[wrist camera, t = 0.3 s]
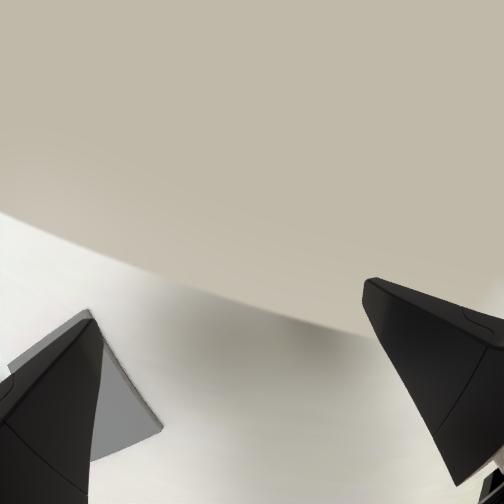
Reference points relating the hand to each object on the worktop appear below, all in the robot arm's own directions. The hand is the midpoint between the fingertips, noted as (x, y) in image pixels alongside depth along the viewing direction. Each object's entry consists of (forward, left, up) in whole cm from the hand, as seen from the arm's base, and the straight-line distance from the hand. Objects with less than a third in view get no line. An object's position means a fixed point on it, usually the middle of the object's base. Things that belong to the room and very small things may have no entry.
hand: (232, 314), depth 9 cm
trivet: (0, +17, -15) cm, 22 cm away
